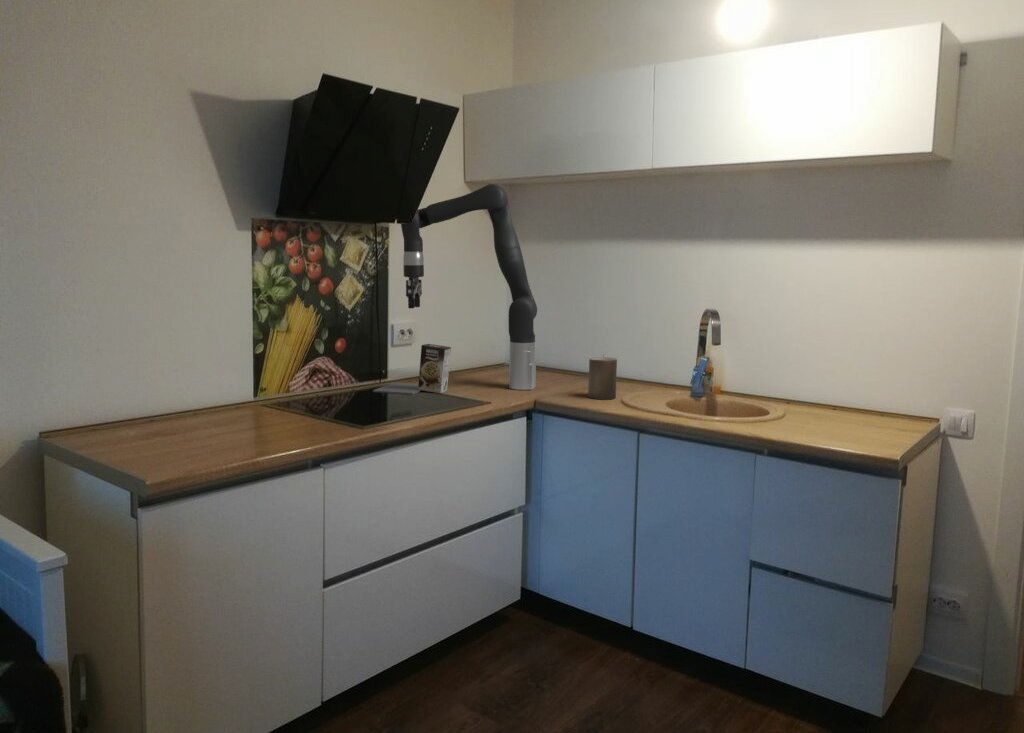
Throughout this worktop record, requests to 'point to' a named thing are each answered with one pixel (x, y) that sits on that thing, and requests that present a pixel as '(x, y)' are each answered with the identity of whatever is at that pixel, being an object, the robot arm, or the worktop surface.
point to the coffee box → (434, 368)
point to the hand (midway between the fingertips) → (414, 307)
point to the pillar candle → (602, 378)
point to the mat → (399, 388)
